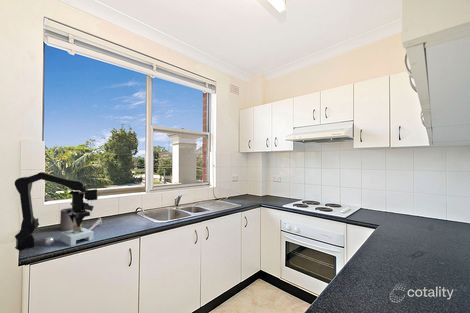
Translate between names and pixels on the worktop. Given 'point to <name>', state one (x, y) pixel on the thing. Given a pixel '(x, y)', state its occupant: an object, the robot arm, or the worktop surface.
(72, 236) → the bridge jig
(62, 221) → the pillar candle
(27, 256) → the worktop surface
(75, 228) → the maple pin
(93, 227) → the caliper
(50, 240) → the aluminium pin
